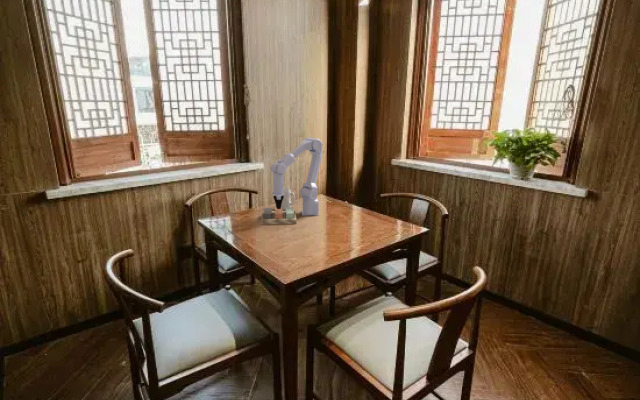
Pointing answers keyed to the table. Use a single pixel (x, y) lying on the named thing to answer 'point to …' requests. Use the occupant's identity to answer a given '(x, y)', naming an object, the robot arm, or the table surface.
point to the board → (278, 221)
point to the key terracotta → (278, 213)
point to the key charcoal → (267, 213)
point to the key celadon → (289, 213)
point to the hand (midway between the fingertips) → (278, 208)
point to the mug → (287, 198)
